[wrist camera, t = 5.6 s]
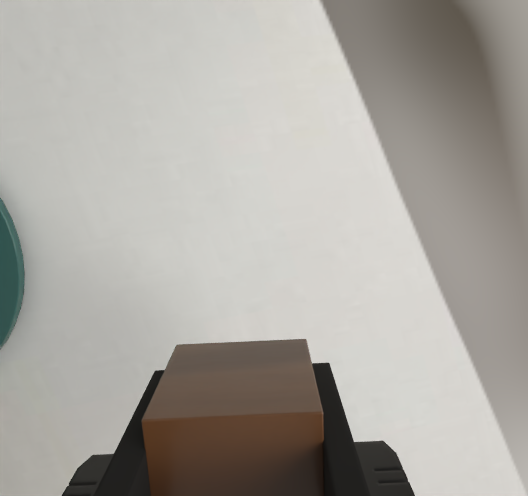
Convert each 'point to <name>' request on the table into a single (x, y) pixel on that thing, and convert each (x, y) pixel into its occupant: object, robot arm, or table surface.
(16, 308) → the lid
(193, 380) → the block
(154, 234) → the table surface
